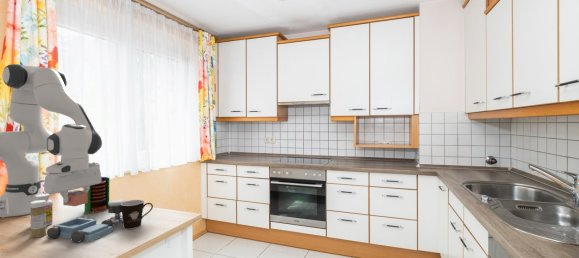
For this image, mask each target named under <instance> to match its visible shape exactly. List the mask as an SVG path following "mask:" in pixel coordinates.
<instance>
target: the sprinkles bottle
mask: <svg viewBox="0 0 579 258" xmlns="http://www.w3.org/2000/svg"><path fill="white" fill-rule="evenodd" d="M45 207H46V201H45V200H37V201H33V202H31V203H30V208H31V213H30V237H31V238H34V239H35V238H41V237H44V236H45V235H47V231H46V229H47V226H46V210H45Z"/></svg>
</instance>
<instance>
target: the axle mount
mask: <svg viewBox="0 0 579 258" xmlns="http://www.w3.org/2000/svg"><path fill="white" fill-rule="evenodd" d="M109 219H110V220H112V222H113V226H114V225H120V224H121V225H122V224H123V217H122V212H120V213H114V216H111V217H109Z"/></svg>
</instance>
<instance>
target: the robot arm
mask: <svg viewBox="0 0 579 258" xmlns="http://www.w3.org/2000/svg"><path fill="white" fill-rule="evenodd" d="M2 79H3V80H2V81H3V83H4V84H5V85H6V86H7V87H9V88H12V91H11V95H10V106H9V119H11V121H13V123H17V124H19V125H21V126H22V127H23V130H22V131H21V130H17V131H0V161H2V163H3V164H4V165H5V168H6V171H7V172H6V173H7V184H6V185H4V188H5V190H4V192H3V193H2V194H1V195H0V217H2V218H8V217H17V216H24V215H31V208H30V203H31V202H33V201H36V200H35V196H36V195H39V194H44V192H45V194H50V195H55V194H59V195H60V196H61V197H62V199H63V198H64V202H65V203H67V202H70V201H71V200H70V199H71V197H68V196H67V194H68V192H69V191H73V190H78V189H81V188H82V189H83V190H82V191H83V193H87V192H88V190H89V189H90V186H91V185H95V184H99V183H100V182H101V177H102V172H101V166H100V164H99V163H98V162H95V161H94V162H90V161H89V160H90V158H89V157H90V155H94V154H95V153H97V152H98V151H99V150H100V149H101V148H102V146H103V140H102V138H101V136H100V134H99V133H98V132H97V131H96V129H95V127H94V126H93V124H92V122H91V120H90V119H89V117H88V114H87V113H86V111H85V110H84V108H83V106H82V105H81V103H80V102H79V101H78V100H75V99H73V97H71V95H70V94H69V92H68V90H67V89H66V88H67V84H68V83H67V82H68V77H67V76H66V74H65V73H64V72H63V71H60V70H58V69H53V68H51V67H43V66H33V65H23V64H22V65H21V64H18V63H17V64H16V63H15V64H14V63H13V64H12V63H11V64H8V65H6V66H5V67H4V68H3V71H2ZM43 109H44V110H46V111H48V112H52V113H57V114H59V115H63V116H66V117H68V118H70V119H72V120H73V121H74V123H67V124H64V125H62V126H61V130H59V131H57V132H54V133H53V132H51V131H50V130H48V129H47V128H46V126H45V125H44V124H45V123H44V122H43V115H42V114H43ZM44 152H48V153H50V154H51V155H53V156H58V157H59V156H60V161H58V162H56V163H53V164H51V165H48V166H47V167H46V168H45V172H46V173H47V174H46V175H45V177H44V183H43V184H44V186H43V189H44V191H43V190H42V189H41V187H42V186H41V185H42V183H41V180H40V166H39V164H37V163H36V162H34V161H31V160H29V159H26V156H25V155H27V154H28V155H29V154H37V153H44Z"/></svg>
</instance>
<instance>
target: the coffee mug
mask: <svg viewBox="0 0 579 258" xmlns="http://www.w3.org/2000/svg"><path fill="white" fill-rule="evenodd" d="M147 205H150V206H151V208H150V209H149V210H148V211H147V212H146V213H144V214H143V211H144V209H145V207H146V206H147ZM153 208H154V205H153V204H152V203H151V202H146V203H145V201H144V200H143V199H132V200H131V199H130V200H126V201H125V202H123V203H121V210H122V212H121V215H122V217H123V223H122V224H123V228H124V229H125V230H131V229H136V228H138V227H141V225H142V220H143V218H144V217H145V216H147V215H148V214H149V213H150V212H151V211H152V210H153Z"/></svg>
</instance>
